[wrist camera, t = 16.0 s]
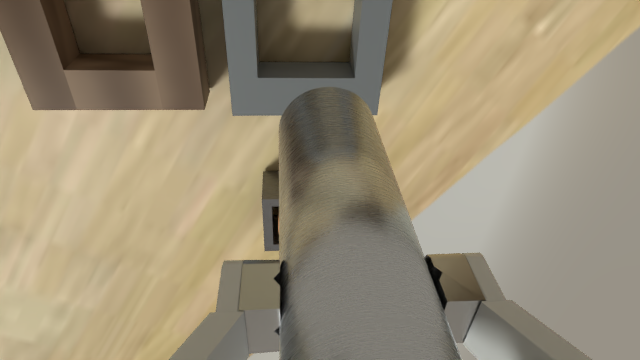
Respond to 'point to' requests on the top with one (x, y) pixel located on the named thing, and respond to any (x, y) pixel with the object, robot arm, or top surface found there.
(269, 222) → the dark grey open box
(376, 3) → the block
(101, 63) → the socket block
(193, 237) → the top surface
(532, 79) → the top surface
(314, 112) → the grey metal cylinder
